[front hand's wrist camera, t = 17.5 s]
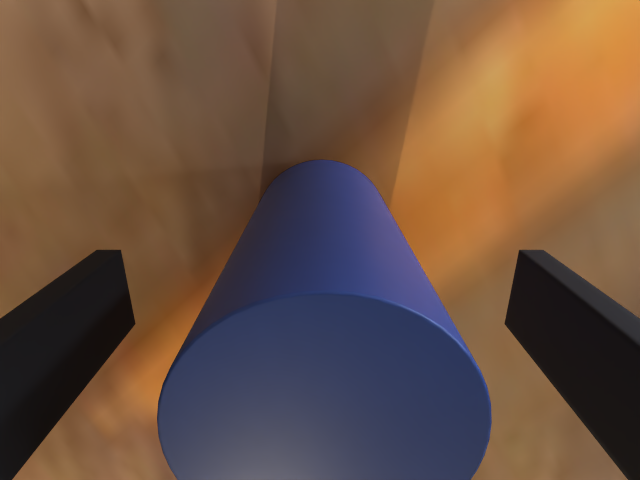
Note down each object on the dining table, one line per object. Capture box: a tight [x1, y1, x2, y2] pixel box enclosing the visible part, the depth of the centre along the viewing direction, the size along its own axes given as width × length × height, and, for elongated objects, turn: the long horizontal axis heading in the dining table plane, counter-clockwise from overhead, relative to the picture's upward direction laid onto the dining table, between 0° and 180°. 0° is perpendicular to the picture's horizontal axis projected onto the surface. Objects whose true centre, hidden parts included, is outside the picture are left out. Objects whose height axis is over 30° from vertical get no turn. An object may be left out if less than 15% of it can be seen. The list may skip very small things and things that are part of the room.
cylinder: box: [157, 160, 492, 480], centre depth 13 cm, size 6×6×12 cm
